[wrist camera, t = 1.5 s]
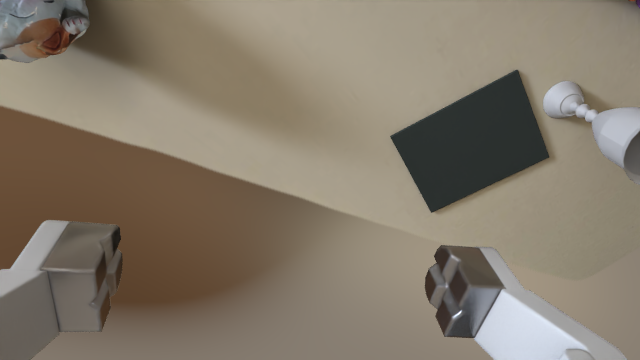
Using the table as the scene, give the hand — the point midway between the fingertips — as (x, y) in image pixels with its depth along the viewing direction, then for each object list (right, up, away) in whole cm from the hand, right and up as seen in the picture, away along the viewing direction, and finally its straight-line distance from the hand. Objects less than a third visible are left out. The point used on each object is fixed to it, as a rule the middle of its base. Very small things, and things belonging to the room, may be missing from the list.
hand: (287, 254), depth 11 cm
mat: (+22, +7, +48) cm, 53 cm away
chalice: (+33, +13, +46) cm, 58 cm away
